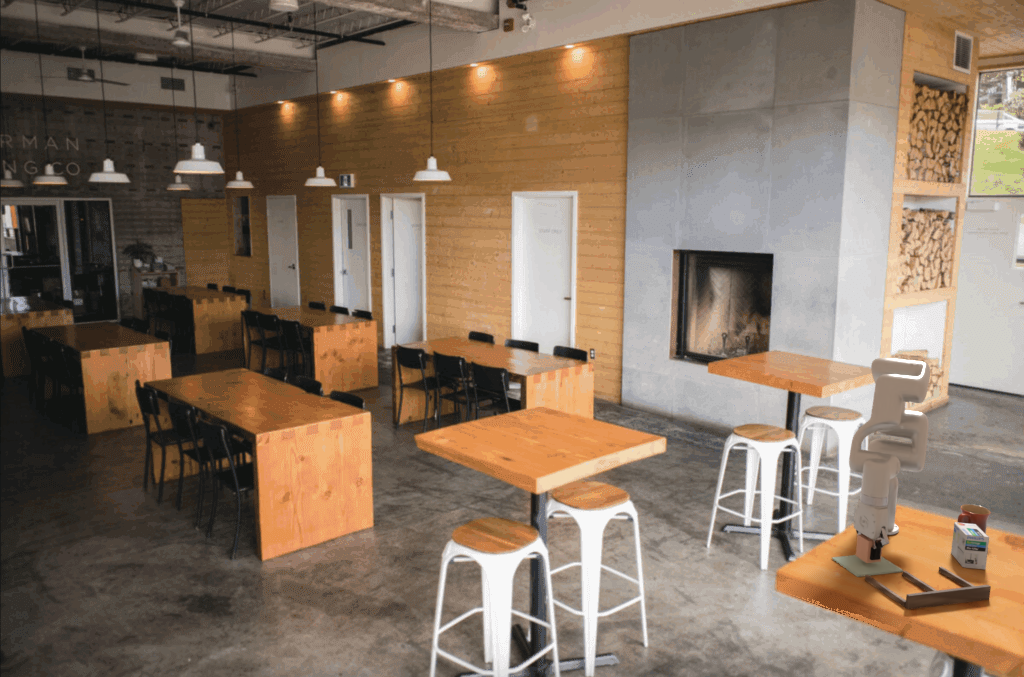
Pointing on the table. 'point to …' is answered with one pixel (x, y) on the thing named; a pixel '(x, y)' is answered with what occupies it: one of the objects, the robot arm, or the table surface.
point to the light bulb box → (970, 545)
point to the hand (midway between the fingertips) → (868, 554)
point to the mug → (974, 516)
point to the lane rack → (935, 592)
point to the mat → (866, 566)
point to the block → (865, 549)
